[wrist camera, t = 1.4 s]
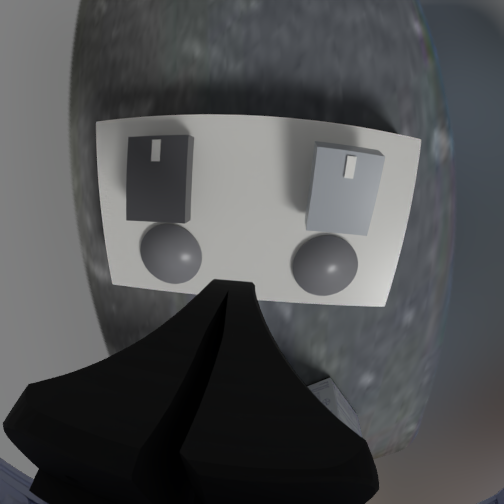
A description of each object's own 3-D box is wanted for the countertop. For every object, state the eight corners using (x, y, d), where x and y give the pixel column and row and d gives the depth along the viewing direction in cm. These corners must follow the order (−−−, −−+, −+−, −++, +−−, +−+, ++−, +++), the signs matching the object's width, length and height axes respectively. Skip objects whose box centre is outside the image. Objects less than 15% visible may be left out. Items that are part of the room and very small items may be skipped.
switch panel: (371, 281, 20) (385, 308, 17) (130, 263, 20) (111, 285, 17) (399, 135, 15) (422, 139, 12) (121, 119, 16) (94, 121, 13)
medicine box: (286, 391, 25) (286, 475, 17) (332, 374, 24) (344, 460, 16) (319, 427, 27) (324, 496, 20) (358, 413, 26) (371, 484, 18)
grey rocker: (362, 225, 14) (367, 236, 14) (304, 219, 15) (306, 231, 14) (378, 149, 12) (385, 157, 11) (314, 140, 12) (317, 147, 11)
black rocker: (190, 220, 14) (184, 224, 13) (134, 217, 14) (125, 220, 13) (194, 137, 13) (188, 134, 12) (137, 138, 13) (127, 136, 12)
